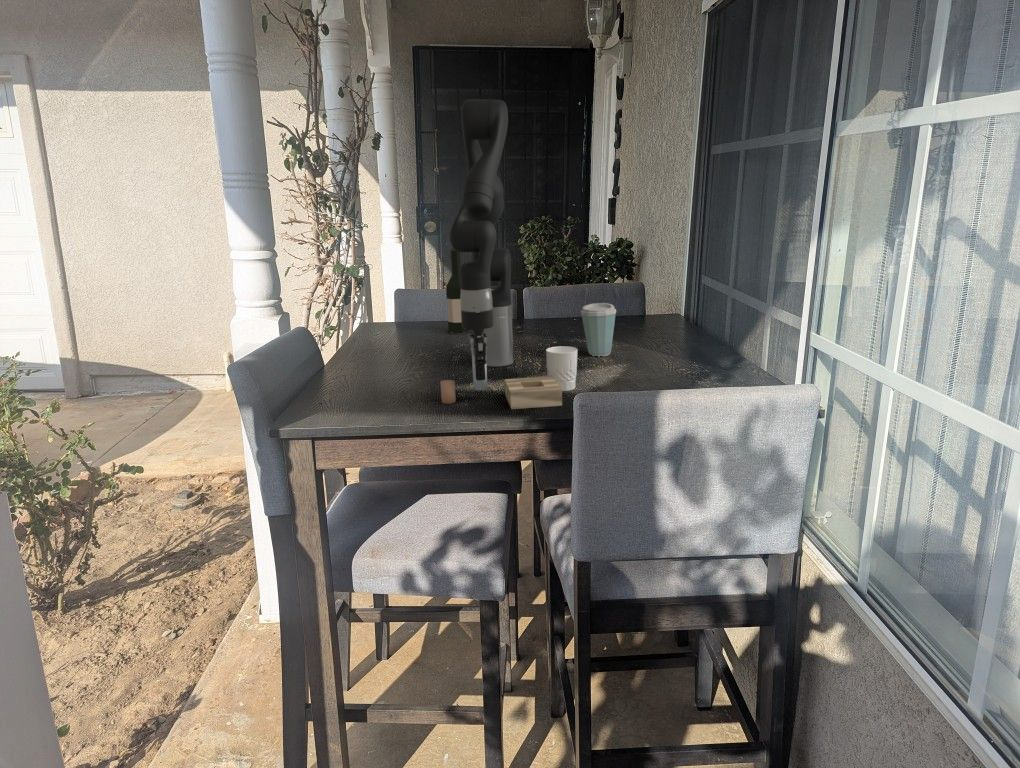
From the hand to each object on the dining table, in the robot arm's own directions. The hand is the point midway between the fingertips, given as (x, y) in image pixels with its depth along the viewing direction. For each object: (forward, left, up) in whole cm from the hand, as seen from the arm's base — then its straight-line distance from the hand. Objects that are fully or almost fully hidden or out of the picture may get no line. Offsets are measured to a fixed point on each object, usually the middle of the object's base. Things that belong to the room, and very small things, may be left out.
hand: (480, 377), depth 172 cm
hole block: (+4, +12, -5) cm, 14 cm away
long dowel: (0, 0, -3) cm, 3 cm away
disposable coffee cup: (-39, +39, -6) cm, 55 cm away
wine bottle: (-88, 0, -6) cm, 88 cm away
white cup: (-5, +21, -6) cm, 22 cm away
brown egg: (0, -8, -5) cm, 10 cm away
